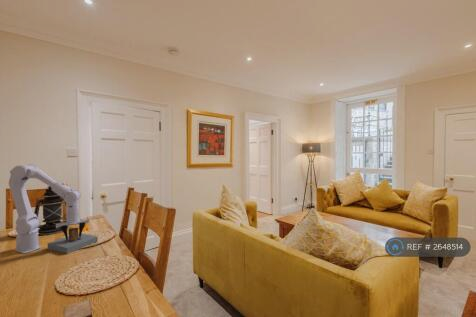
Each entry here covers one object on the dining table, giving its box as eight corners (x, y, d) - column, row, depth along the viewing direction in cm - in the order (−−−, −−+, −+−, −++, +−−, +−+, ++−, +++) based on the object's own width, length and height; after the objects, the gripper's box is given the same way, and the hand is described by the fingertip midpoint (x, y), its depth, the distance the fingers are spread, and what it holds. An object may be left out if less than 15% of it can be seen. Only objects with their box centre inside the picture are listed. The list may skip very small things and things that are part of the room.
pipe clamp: (82, 230, 146) (82, 220, 146) (88, 230, 146) (88, 220, 145) (66, 237, 134) (66, 226, 134) (72, 237, 134) (72, 227, 133)
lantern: (33, 238, 133) (32, 187, 132) (31, 232, 143) (29, 185, 142) (75, 229, 147) (74, 183, 146) (69, 224, 158) (68, 181, 157)
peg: (67, 246, 122) (67, 229, 121) (75, 243, 125) (75, 227, 125) (71, 247, 120) (71, 230, 120) (79, 244, 123) (79, 228, 123)
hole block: (47, 248, 118) (47, 243, 118) (79, 237, 133) (78, 232, 133) (67, 253, 112) (67, 247, 112) (97, 241, 127) (97, 236, 127)
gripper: (55, 217, 114) (56, 243, 115) (89, 212, 123) (90, 237, 124) (55, 214, 120) (56, 239, 120) (88, 210, 129) (88, 233, 129)
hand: (73, 238), depth 123 cm, fingers open, 5 cm apart
